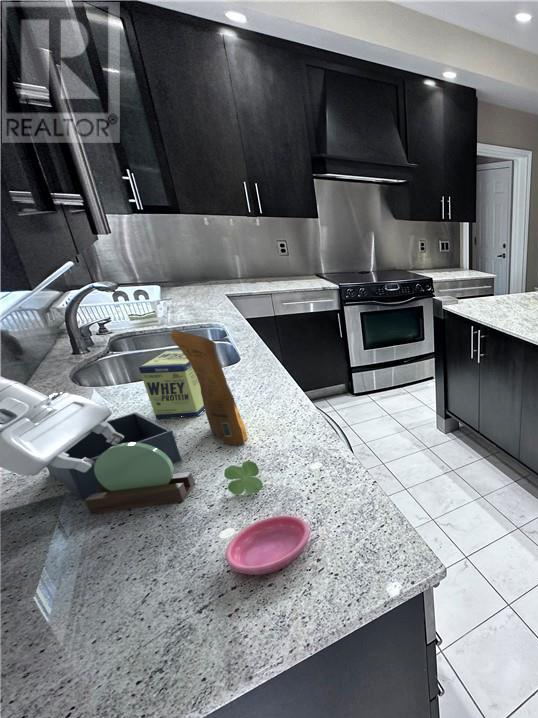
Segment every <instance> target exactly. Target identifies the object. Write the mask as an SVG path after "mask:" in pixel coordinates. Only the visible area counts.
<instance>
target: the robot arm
mask: <svg viewBox="0 0 538 718" xmlns="http://www.w3.org/2000/svg"><path fill="white" fill-rule="evenodd" d="M112 414H113V412H112V409H110V407H108V406H106V405H105V404H103V403H99V402H98V401H95V400H92V399H90V398H88V397H85V396H82V395H79V394H75V393H69V392H57V391H56V392H52V393H50V394H49V395H46V394H44V393H42V392H40V391H38V390H36V389H33V388H31V387H29V386H28V385H25V384H23V383H21V382H19V381H16V380H12V379H9V378H7V377H6V378H5V377H3V376H1V375H0V468H1V469H3V470H7V471H9V472H11V473H15V474H17V475H21V476H36V475H38V474H39V473H40V472H42V471H43V470H45V468H47V466H48V465H52V466H54V467H57V468H70V469H73V468H74V469H76V470H79V471H81V472H87V471H88V470H89V469H90V468H91V467H92V466H93V465H94V464H95V462H94V461H93V460H89V459H88V458H86V457H84V458H83V459H77V458H71V457H68V456H69V454H66V453H65V452H66V451H68V450H69V449H70V448H71V447H73V446H74V445H75V444H77V443H78V442H79V441H81V440H82V439H83V438H85V437H86V436H87V435H88V434H90V433H91V432H92V431H93V432H95V433H97V434H100V433H102V434H103V435H104V436H105V437H106V438H107V441H106V442H108V443H111V444H113V445H117V444H118V443H119V442H120V441H121V440H122V439H123V438H124V436H123V435H122V434H120V433H117V432H115V430H114V428H113V427H112V426H111V425H110V424H109V423H107V422H106V421H108V419H109V418H110V416H111V415H112Z"/></svg>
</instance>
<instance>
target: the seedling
mask: <svg viewBox="0 0 538 718" xmlns="http://www.w3.org/2000/svg"><path fill="white" fill-rule="evenodd" d="M223 473H224V474H223V475H224V478H225V479H227V480H231V481H230V482H228V484H227V489H228V491H229V492H230V493H231V494H233V495H235V496H239V495H242V494H244V492H245V493H246V494H247V495H253V494H257V493H259V492H260V491H261V490H262V489H263V481H262V480H261V479H260V478H259V477H256V476H258V475H259V473H260V470H259V467H258V465H257V463H255V462H254V461H251V460H246V461H244V462H242V465H241V466H238V465H235V464H233V465H232V464H231V465H229V466H227V467H226V468H225V470H224V472H223Z"/></svg>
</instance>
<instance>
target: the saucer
mask: <svg viewBox="0 0 538 718" xmlns="http://www.w3.org/2000/svg"><path fill="white" fill-rule="evenodd" d="M309 539H310V528H309V525H308V523H307V522H306V521H305V520H304V519H302V518H301V517H299V516H296V515H290V514H288V515H287V514H285V515H275V516H270V517H266V518H263V519H260V520H257V521H256V522H253V523H251V524H249V525H248V526H246V527H245V528H244V529H242V530H241V531H239V532H238V533H237V534H235V536H234V537H233V538H232V539H231V540H230V541H229V543H228V545H227V547H226V549H225V561H226V563H227V566H229V568H230V569H232V570H233V571H235V572H237V573H241V574H244V575H253V576H260V575H261V576H262V575H268V574H271V573H275V572H277V571H279V570H282V569H284V568H285V567H287V566H289V565H290V564H291V563H292V562H293V561H294V560H295V559H296V558H298V556H299V555H300V554H301V553H302V552H303V550H304V549H305V548H306V546H307V544H308V542H309Z"/></svg>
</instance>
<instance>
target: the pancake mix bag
mask: <svg viewBox="0 0 538 718" xmlns="http://www.w3.org/2000/svg"><path fill="white" fill-rule="evenodd" d="M169 334H170V335H169V336H170V338H171V340H172V342H173V343H174V344H175V345H176V346H177V347H178V349H181V351H182V352H183V354H184V355H185V356H186V358H187V359H188V361H189V362H190V364H191V366H192V368H193V370H194V372H195V374H196V376H197V378H198V381H199V384H200V388H201V395H202V399H203V404H204V408H205V410H204V412H205V416H206V419H207V422H208V425H209V428H210V430H211V432H212V434H214V436H217V438H219V439H220V440H221V441H223V442H224V444H226V445H227V446H241V445H242V446H243V445H246V441H247V440H248V434H247V430H246V429H247V428H246V426H245V423H244V421H243V419H242V415H241V413H240V410H239V409H238V406H237V403H236V400H235V398H234V395H233V393H232V390H231V389H230V386H229V385H228V382H227V377H226V376H225V373H224V370H223V367H222V364H221V360H220V358H219V355H218V350H217V345H216V344H217V342H215V341H213V340H211V339H209V338H207V337H204V336H201V335H197V334H192V333H187V332H183V331H181V330H180V331H179V330H177V329H172V331H171V332H170V333H169Z"/></svg>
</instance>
